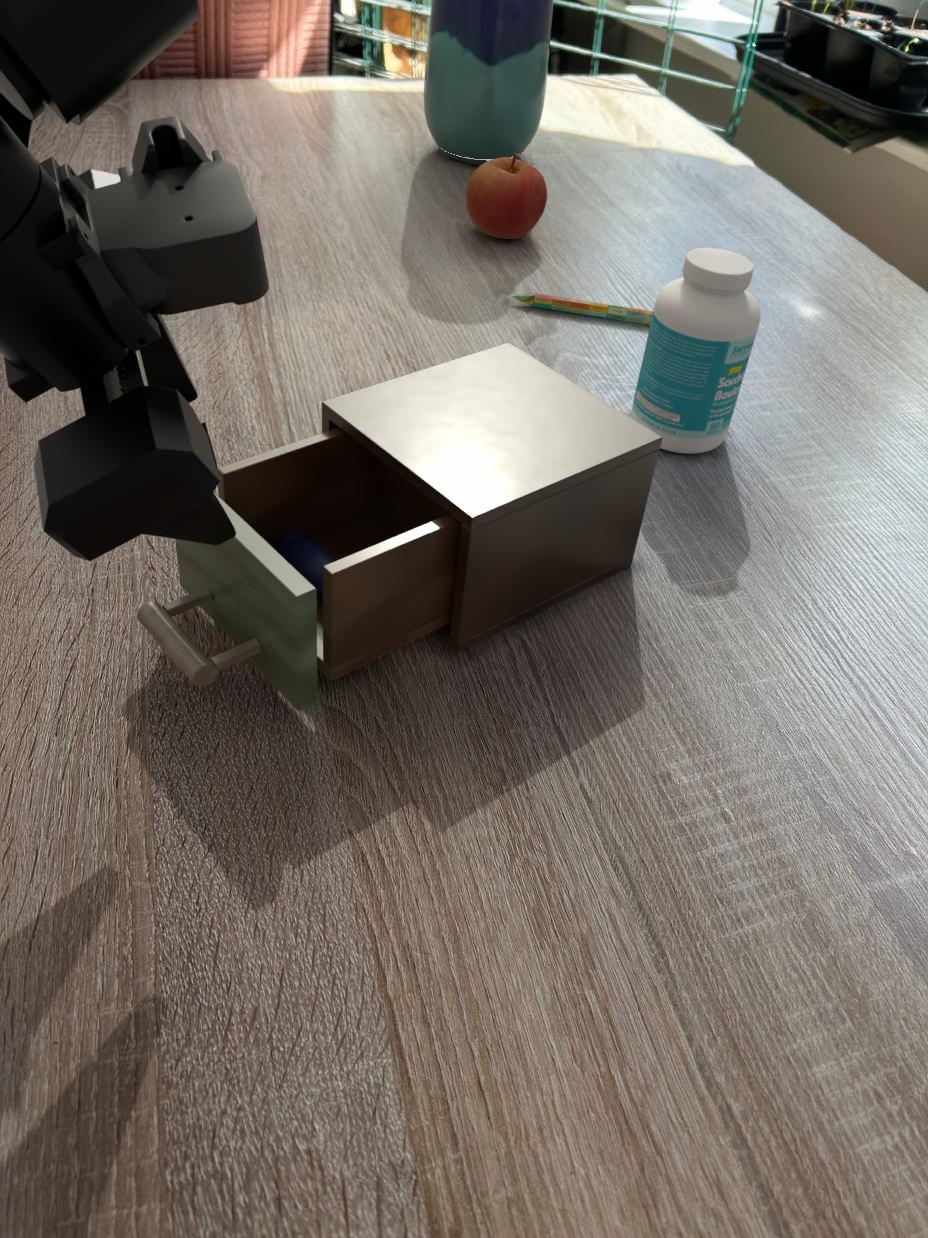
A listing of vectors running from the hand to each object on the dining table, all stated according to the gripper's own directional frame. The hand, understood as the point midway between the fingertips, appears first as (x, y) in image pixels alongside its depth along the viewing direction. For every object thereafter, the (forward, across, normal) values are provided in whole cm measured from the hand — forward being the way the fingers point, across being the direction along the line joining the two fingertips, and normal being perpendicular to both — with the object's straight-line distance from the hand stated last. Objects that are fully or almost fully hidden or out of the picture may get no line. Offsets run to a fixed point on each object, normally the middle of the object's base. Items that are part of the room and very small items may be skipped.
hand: (207, 465), depth 50 cm
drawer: (+13, -1, +1) cm, 13 cm away
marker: (+11, 0, 0) cm, 11 cm away
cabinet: (+20, +4, -8) cm, 22 cm away
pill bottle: (+32, +14, -25) cm, 43 cm away
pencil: (+37, +32, -26) cm, 56 cm away
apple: (+39, +51, -22) cm, 68 cm away
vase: (+46, +74, -25) cm, 91 cm away
